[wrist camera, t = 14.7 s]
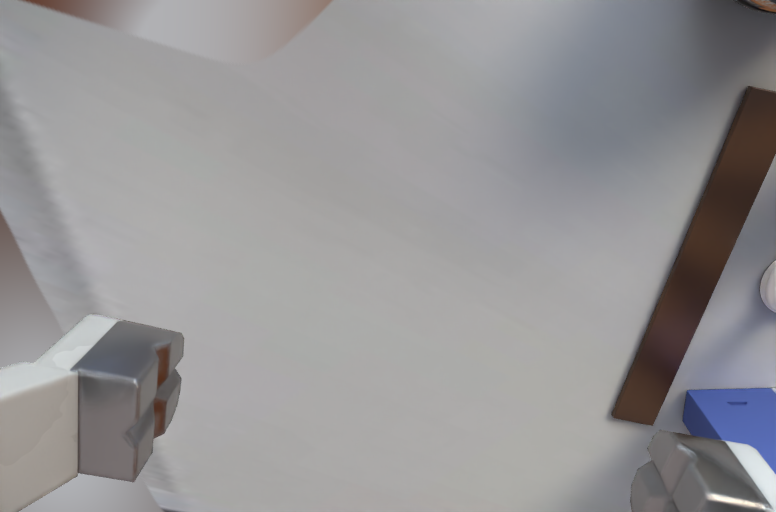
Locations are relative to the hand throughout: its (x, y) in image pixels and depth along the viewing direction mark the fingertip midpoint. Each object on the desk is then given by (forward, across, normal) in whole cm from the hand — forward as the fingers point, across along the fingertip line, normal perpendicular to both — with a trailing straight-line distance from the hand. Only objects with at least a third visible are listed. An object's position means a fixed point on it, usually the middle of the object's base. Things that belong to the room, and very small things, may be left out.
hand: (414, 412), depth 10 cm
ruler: (+29, -20, +6) cm, 36 cm away
